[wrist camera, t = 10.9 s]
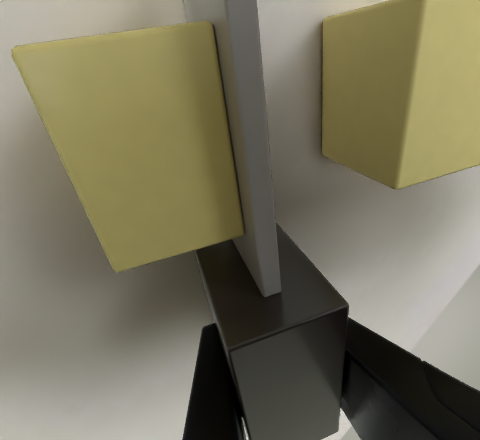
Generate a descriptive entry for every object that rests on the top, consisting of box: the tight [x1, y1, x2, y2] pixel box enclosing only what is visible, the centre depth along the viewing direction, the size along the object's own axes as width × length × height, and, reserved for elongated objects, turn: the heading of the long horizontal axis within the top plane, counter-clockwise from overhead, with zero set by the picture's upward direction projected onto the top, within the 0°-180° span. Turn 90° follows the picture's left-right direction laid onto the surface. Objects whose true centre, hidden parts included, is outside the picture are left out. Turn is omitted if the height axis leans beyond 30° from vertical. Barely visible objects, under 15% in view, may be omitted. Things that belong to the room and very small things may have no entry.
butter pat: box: [11, 20, 245, 272], centre depth 6 cm, size 2×4×3 cm
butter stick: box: [322, 0, 480, 189], centre depth 7 cm, size 7×4×3 cm, turn 99°
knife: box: [183, 0, 349, 440], centre depth 6 cm, size 2×11×4 cm, turn 8°
